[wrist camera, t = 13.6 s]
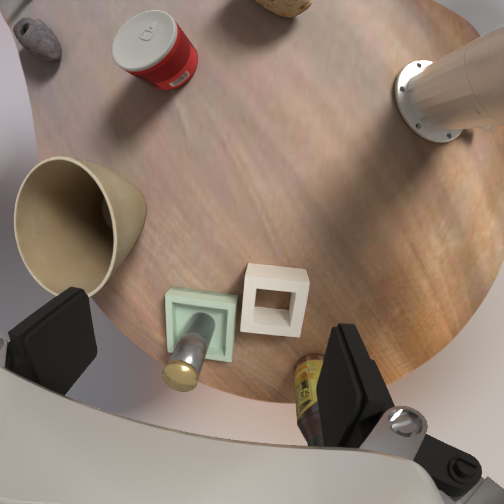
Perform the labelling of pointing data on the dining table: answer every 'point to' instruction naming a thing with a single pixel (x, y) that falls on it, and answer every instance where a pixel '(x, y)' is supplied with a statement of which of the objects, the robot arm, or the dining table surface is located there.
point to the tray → (212, 303)
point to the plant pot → (76, 223)
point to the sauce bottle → (308, 398)
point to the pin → (189, 353)
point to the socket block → (272, 318)
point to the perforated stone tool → (38, 39)
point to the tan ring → (285, 6)
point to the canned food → (155, 50)
